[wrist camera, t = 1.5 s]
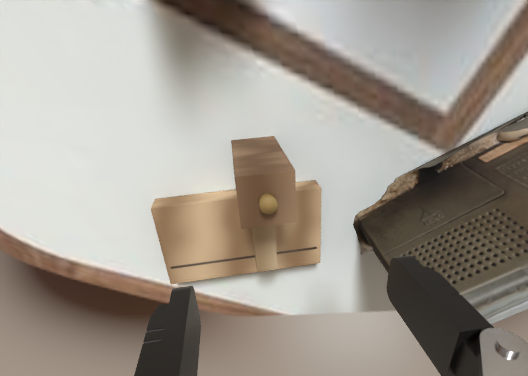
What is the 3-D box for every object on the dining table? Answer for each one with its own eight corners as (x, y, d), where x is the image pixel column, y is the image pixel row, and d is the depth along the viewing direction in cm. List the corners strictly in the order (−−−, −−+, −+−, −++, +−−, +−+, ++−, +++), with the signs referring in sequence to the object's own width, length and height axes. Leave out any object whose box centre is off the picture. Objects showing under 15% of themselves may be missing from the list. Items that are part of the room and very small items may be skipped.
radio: (354, 257, 35) (436, 383, 22) (330, 200, 31) (411, 310, 18) (542, 171, 33) (759, 250, 20) (541, 100, 30) (805, 139, 16)
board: (315, 180, 30) (321, 188, 28) (315, 251, 34) (320, 263, 32) (155, 198, 29) (150, 208, 27) (173, 271, 32) (170, 284, 31)
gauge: (273, 136, 28) (297, 174, 19) (279, 241, 33) (301, 311, 24) (231, 140, 27) (235, 181, 18) (244, 246, 32) (251, 319, 23)
